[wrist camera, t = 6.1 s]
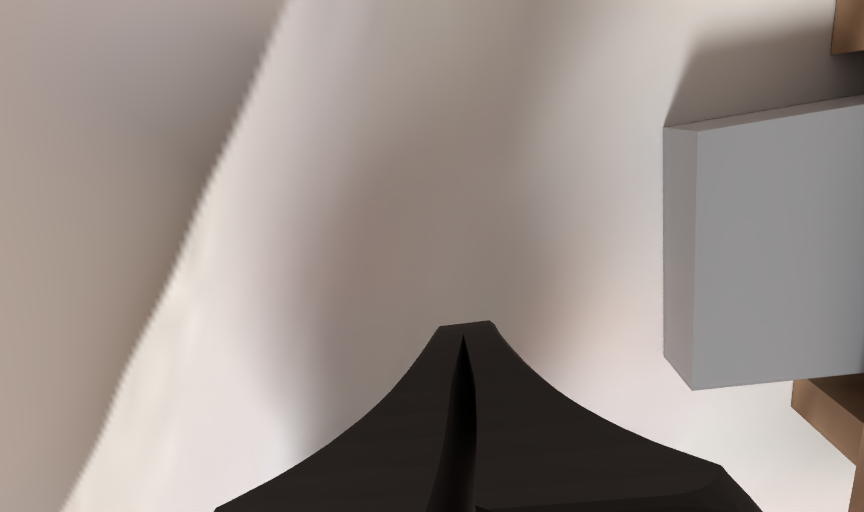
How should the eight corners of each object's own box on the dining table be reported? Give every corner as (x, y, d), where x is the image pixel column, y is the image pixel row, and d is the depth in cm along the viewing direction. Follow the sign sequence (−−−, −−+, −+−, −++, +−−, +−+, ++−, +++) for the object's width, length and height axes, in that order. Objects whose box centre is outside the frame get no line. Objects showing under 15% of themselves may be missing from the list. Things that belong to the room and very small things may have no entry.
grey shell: (975, 320, 15) (1051, 353, 13) (663, 355, 16) (691, 390, 14) (1040, 64, 12) (1146, 57, 10) (663, 127, 13) (697, 131, 11)
